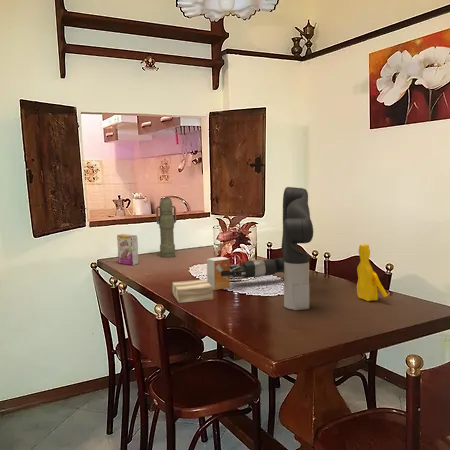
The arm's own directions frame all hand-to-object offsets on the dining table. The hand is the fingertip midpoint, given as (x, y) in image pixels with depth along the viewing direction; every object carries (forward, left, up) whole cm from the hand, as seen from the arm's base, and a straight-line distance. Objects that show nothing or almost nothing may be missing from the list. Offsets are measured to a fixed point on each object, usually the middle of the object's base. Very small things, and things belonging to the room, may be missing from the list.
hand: (218, 271), depth 202 cm
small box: (0, 0, -7) cm, 7 cm away
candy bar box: (+67, +34, -7) cm, 75 cm away
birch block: (-10, +14, -7) cm, 19 cm away
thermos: (+81, +9, -7) cm, 82 cm away
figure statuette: (-38, -50, -7) cm, 63 cm away
